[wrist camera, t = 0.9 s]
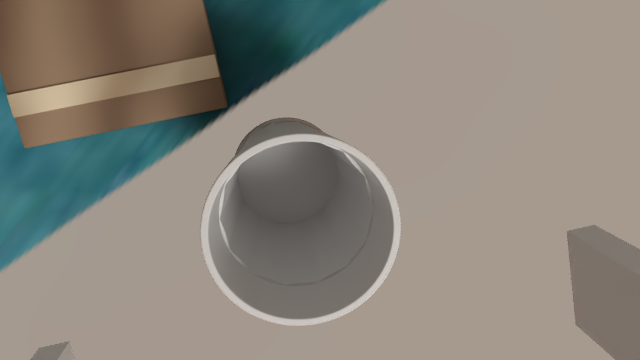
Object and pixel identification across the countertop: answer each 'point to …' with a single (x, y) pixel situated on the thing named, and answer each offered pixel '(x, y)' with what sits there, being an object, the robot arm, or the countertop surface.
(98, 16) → the striped wooden coaster
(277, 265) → the cup
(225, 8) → the countertop surface
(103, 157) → the countertop surface
